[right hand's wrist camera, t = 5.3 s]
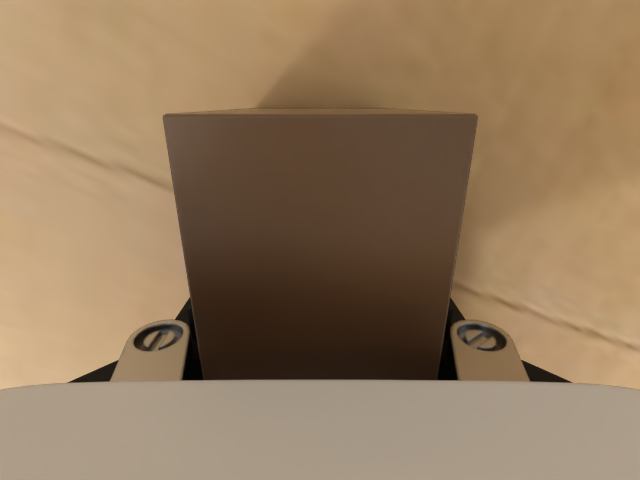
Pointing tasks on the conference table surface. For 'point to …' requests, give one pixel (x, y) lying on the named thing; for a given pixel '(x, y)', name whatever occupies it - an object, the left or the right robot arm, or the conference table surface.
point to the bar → (320, 238)
